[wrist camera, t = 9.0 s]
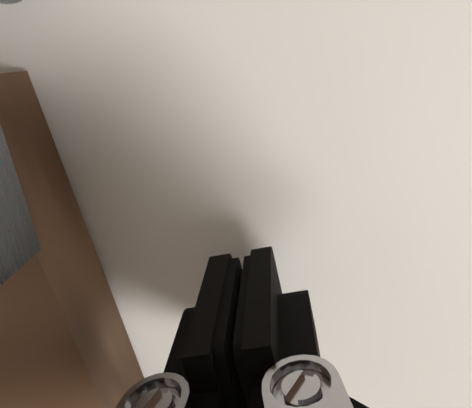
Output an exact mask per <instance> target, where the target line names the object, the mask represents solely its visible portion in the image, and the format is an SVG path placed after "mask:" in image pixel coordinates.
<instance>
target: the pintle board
mask: <svg viewBox="0 0 472 408" xmlns="http://www.w3.org/2000/svg"><path fill="white" fill-rule="evenodd" d="M18 71H27V72H28V74H29V77H30V79H31V82H32V85H33V87H34V90H35V93H36V95H37V98H38V100H39V103H40V106H41V108H42V111H43V114H44V116H45V119H46V121H47V124H48V127H49V129H50V132H51V135H52V137H53V140H54V142H55V145H56V148H57V150H58V153H59V156H60V158H61V161H62V163H63V166H64V169H65V171H66V174H67V177H68V179H69V182H70V184H71V187H72V190H73V192H74V195H75V198H76V200H77V203H78V205H79V208H80V211H81V213H82V216H83V219H84V221H85V224H86V226H87V229H88V232H89V234H90V237H91V240H92V242H93V245H94V247H95V250H96V253H97V255H98V258H99V261H100V263H101V266H102V268H103V271H104V274H105V276H106V279H107V282H108V284H109V287H110V289H111V292H112V295H113V297H114V300H115V303H116V305H117V308H118V310H119V313H120V316H121V318H122V321H123V324H124V326H125V329H126V331H127V334H128V337H129V339H130V342H131V345H132V347H133V350H134V352H135V355H136V358H137V360H138V363H139V366H140V368H141V371H142V373H143V376H144V378H146V377H148V376H151V375H154V374H157V373H163V372H164V369H165V366H166V363H167V360H168V357H169V354H170V351H171V348H172V345H173V342H174V338H175V335H176V332H177V329H178V326H179V323H180V320H181V317H182V314H183V312H184V310H185V309H186V308H192V307H195V305H196V301H197V298H198V295H199V291H200V288H201V284H202V281H203V277H204V274H205V270H206V267H207V263H208V260H209V257H211V256H217V255H223V254H229V253H230V254H231V256H232V258H237V257H238V258H239V259H240V262H241V266H242V268H243V260H244V256H249V255H250V253H251V250H252V249H258V248H264V247H270V246H271V247H272V250H273V253H274V258H275V262H276V267H277V272H278V276H279V281H280V285H281V290H282V294H283V293H290V292H296V291H303V290H308V292H309V297H310V302H311V307H312V312H313V318H314V323H315V328H316V334H317V339H318V345H319V351H320V357H321V358H323V359H326V360H327V361H328V362H330V363H331V364H333V365H334V367H335V368H336V370H337V371H338V373H339V375H340V377H341V380H342V382H343V384H344V387H345V389H346V391H347V394H348V396H349V397H351V398H353V399H355V400H356V401H358V402H360V403H362V404H364V405H365V406H367V407H369V408H472V0H22V1H20V2H18V3H14V4H2V3H0V73H7V72H18Z"/></svg>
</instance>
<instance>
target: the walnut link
mask: <svg viewBox="0 0 472 408" xmlns="http://www.w3.org/2000/svg"><path fill="white" fill-rule="evenodd" d="M0 124H1V127H2V130H3V133H4V137H5V140H6V143H7V146H8V149H9V152H10V155H11V158H12V161H13V164H14V167H15V170H16V173H17V176H18V179H19V182H20V185H21V188H22V191H23V195H24V198H25V201H26V204H27V207H28V210H29V213H30V216H31V219H32V222H33V225H34V228H35V231H36V234H37V237H38V240H39V243H40V246H41V250H40V251H39V252H38V253H37V254H36V255H35V256H33V257H32V258H31V259H30V260H29V261H28V262H27V263H25V264H24V265H23V266H22V267H21V268H20V269H19V270H18V271H16V272H15V273H14V274H13V275H12V276H11V277H10V278H9V279H7V280H6V281H5V282H4V283H3V284H2V285H1V286H0V408H116V406H117V404H118V403H119V401H120V399H121V398H122V397H123V395H124V394H125V393H126V391H127V390H128V389H130V388H131V387H132V386H133V385H134V384H135V383H137V382H139V381H140V380H142V379H144V376H143V373H142V371H141V368H140V366H139V363H138V360H137V358H136V355H135V352H134V350H133V347H132V345H131V342H130V339H129V337H128V334H127V331H126V329H125V326H124V324H123V321H122V318H121V316H120V313H119V310H118V308H117V305H116V303H115V300H114V297H113V295H112V292H111V289H110V287H109V284H108V282H107V279H106V276H105V274H104V271H103V268H102V266H101V263H100V261H99V258H98V255H97V253H96V250H95V247H94V245H93V242H92V240H91V237H90V234H89V232H88V229H87V226H86V224H85V221H84V219H83V216H82V213H81V211H80V208H79V205H78V203H77V200H76V198H75V195H74V192H73V190H72V187H71V184H70V182H69V179H68V177H67V174H66V171H65V169H64V166H63V163H62V161H61V158H60V156H59V153H58V150H57V148H56V145H55V142H54V140H53V137H52V135H51V132H50V129H49V127H48V124H47V121H46V119H45V116H44V114H43V111H42V108H41V106H40V103H39V100H38V98H37V95H36V93H35V90H34V87H33V85H32V82H31V79H30V77H29V74H28V72H27V71H18V72H7V73H0Z"/></svg>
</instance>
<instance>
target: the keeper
mask: <svg viewBox="0 0 472 408" xmlns="http://www.w3.org/2000/svg"><path fill="white" fill-rule="evenodd" d="M20 1H22V0H0V3H2V4H14V3H18V2H20ZM40 250H41V246H40V243H39V240H38V237H37V234H36V231H35V228H34V225H33V222H32V219H31V216H30V213H29V210H28V207H27V204H26V201H25V198H24V195H23V191H22V188H21V185H20V182H19V179H18V176H17V173H16V170H15V167H14V164H13V161H12V158H11V155H10V152H9V149H8V146H7V143H6V140H5V137H4V133H3V130H2V127H1V124H0V286H1V285H2V284H3V283H4V282H5V281H6V280H7V279H9V278H10V277H11V276H12V275H13V274H14V273H15V272H16V271H18V270H19V269H20V268H21V267H22V266H23V265H24V264H25V263H27V262H28V261H29V260H30V259H31V258H32V257H33V256H35V255H36V254H37V253H38V252H39V251H40Z"/></svg>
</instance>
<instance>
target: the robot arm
mask: <svg viewBox="0 0 472 408" xmlns="http://www.w3.org/2000/svg"><path fill="white" fill-rule="evenodd" d="M116 408H369V407H367V406H365V405H364V404H362V403H360V402H358V401H356V400H355V399H353V398H351V397H349V396H348V394H347V391H346V389H345V387H344V384H343V382H342V380H341V377H340V375H339V373H338V371H337V370H336V368H335V367H334V365H333V364H331V363H330V362H328V361H327V360H326V359H323V358H321V357H320V351H319V345H318V339H317V334H316V328H315V323H314V318H313V312H312V307H311V302H310V297H309V292H308V290H303V291H296V292H290V293H283V294H282V290H281V285H280V281H279V276H278V272H277V267H276V262H275V258H274V253H273V250H272V247H271V246H270V247H264V248H258V249H252V250H251V253H250V255H249V256H244V260H243V268H242V266H241V262H240V259H239V258H238V257H237V258H232V256H231V254H230V253H229V254H223V255H217V256H211V257H209V260H208V263H207V267H206V270H205V274H204V277H203V281H202V284H201V288H200V291H199V295H198V298H197V301H196V305H195V307H192V308H186V309H185V310H184V312H183V314H182V317H181V320H180V323H179V326H178V329H177V332H176V335H175V338H174V342H173V345H172V348H171V351H170V354H169V357H168V360H167V363H166V366H165V369H164V372H163V373H157V374H154V375H151V376H148V377H146V378H144V379H142V380H140V381H139V382H137V383H135V384H134V385H133V386H132V387H131V388H130V389H128V390H127V391H126V393H125V394H124V395H123V397H122V398H121V399H120V401H119V403H118V404H117V406H116Z"/></svg>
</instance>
